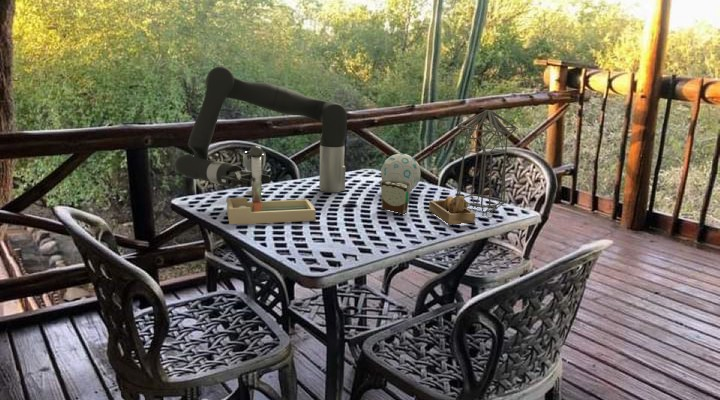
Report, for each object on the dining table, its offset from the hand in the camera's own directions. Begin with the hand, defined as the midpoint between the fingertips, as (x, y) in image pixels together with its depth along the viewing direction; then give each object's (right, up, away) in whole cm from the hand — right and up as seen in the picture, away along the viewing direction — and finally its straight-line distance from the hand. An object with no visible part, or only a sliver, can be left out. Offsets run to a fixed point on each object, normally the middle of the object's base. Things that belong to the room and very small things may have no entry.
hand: (260, 181), depth 181 cm
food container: (+44, -10, +17) cm, 48 cm away
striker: (-2, -9, +3) cm, 10 cm away
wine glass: (-8, -3, +34) cm, 36 cm away
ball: (-6, -10, +2) cm, 12 cm away
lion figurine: (+61, -12, +9) cm, 63 cm away
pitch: (+2, -11, +5) cm, 12 cm away
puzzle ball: (+46, -3, +41) cm, 62 cm away
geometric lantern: (+71, -11, +15) cm, 74 cm away
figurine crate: (+61, -12, +9) cm, 62 cm away
